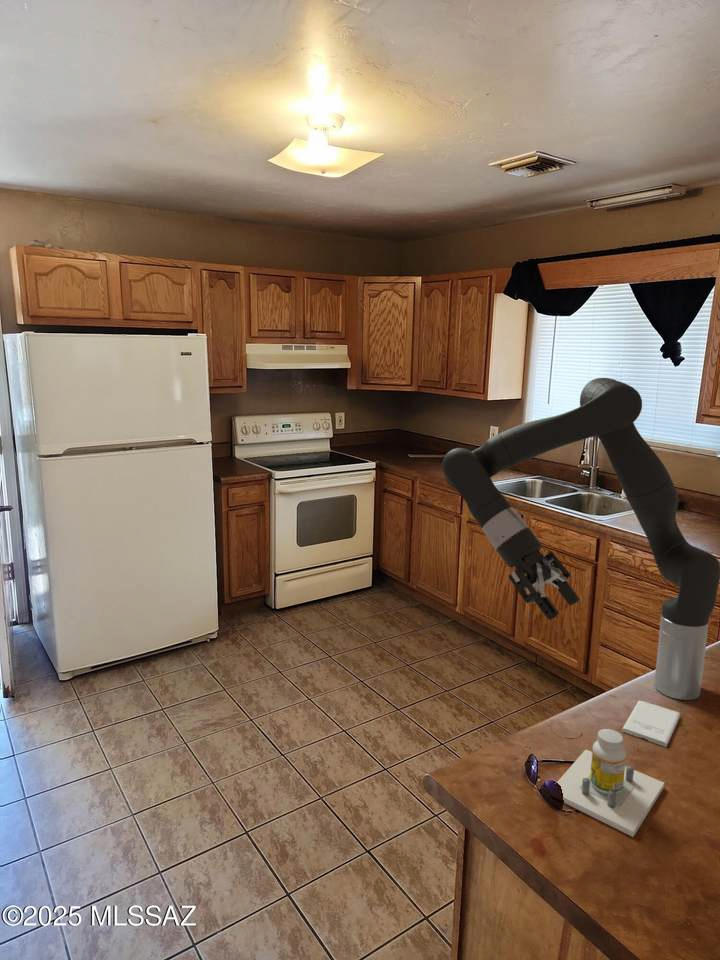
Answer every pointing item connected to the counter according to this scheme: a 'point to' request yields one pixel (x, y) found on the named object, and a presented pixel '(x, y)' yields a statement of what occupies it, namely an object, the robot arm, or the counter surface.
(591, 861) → the counter surface
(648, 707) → the external hard drive
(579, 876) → the counter surface
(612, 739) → the supplement bottle
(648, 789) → the pin tray
